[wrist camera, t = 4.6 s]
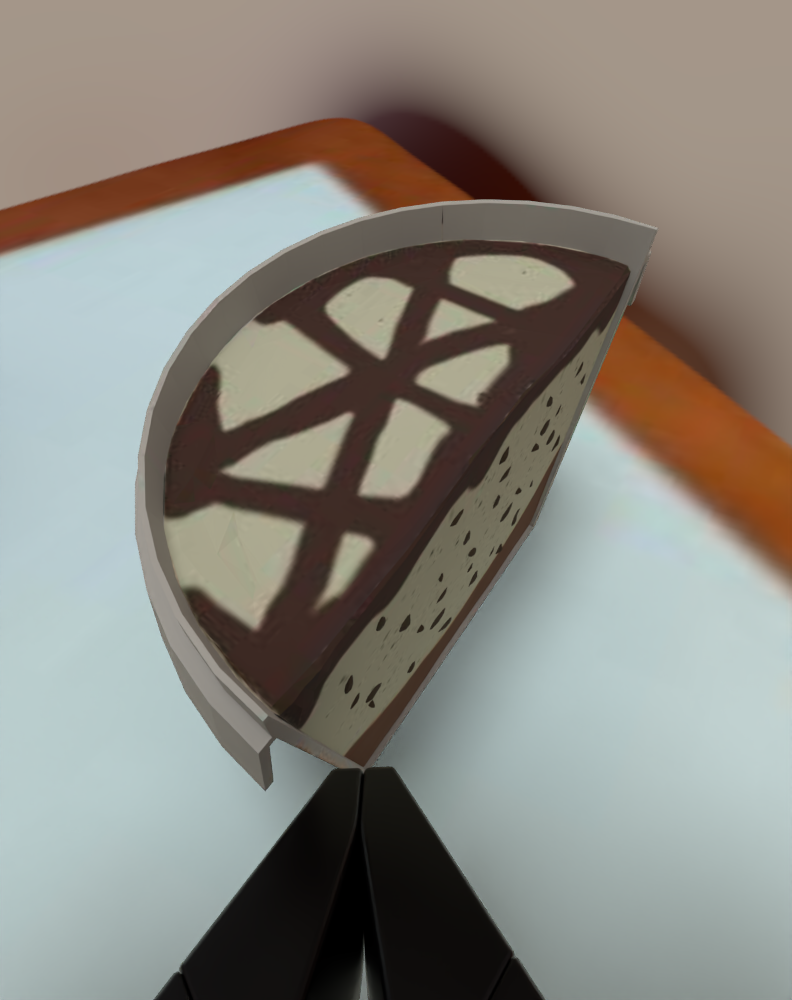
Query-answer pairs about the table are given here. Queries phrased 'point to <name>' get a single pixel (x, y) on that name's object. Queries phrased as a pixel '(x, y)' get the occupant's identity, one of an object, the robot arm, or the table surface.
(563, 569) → the table surface
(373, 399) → the food container
